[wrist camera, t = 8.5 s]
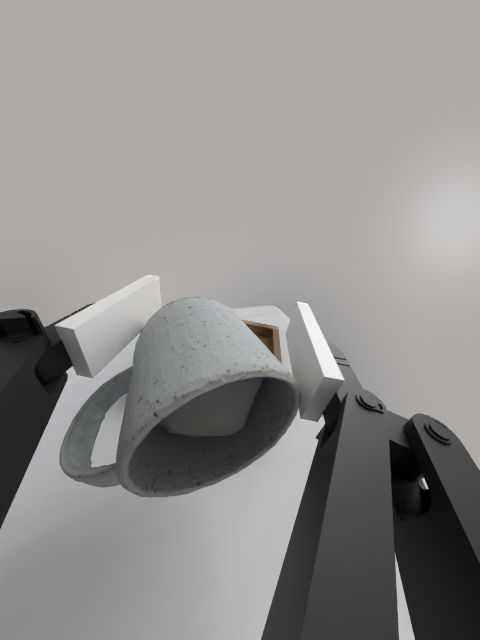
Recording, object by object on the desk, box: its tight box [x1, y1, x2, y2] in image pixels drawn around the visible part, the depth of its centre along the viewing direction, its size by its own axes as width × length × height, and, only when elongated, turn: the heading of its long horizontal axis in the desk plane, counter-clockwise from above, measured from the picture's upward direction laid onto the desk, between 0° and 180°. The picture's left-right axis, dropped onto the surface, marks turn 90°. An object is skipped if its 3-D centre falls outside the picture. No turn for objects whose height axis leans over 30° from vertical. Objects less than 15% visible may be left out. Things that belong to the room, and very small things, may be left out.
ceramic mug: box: [60, 297, 301, 497], centre depth 10 cm, size 11×8×8 cm
